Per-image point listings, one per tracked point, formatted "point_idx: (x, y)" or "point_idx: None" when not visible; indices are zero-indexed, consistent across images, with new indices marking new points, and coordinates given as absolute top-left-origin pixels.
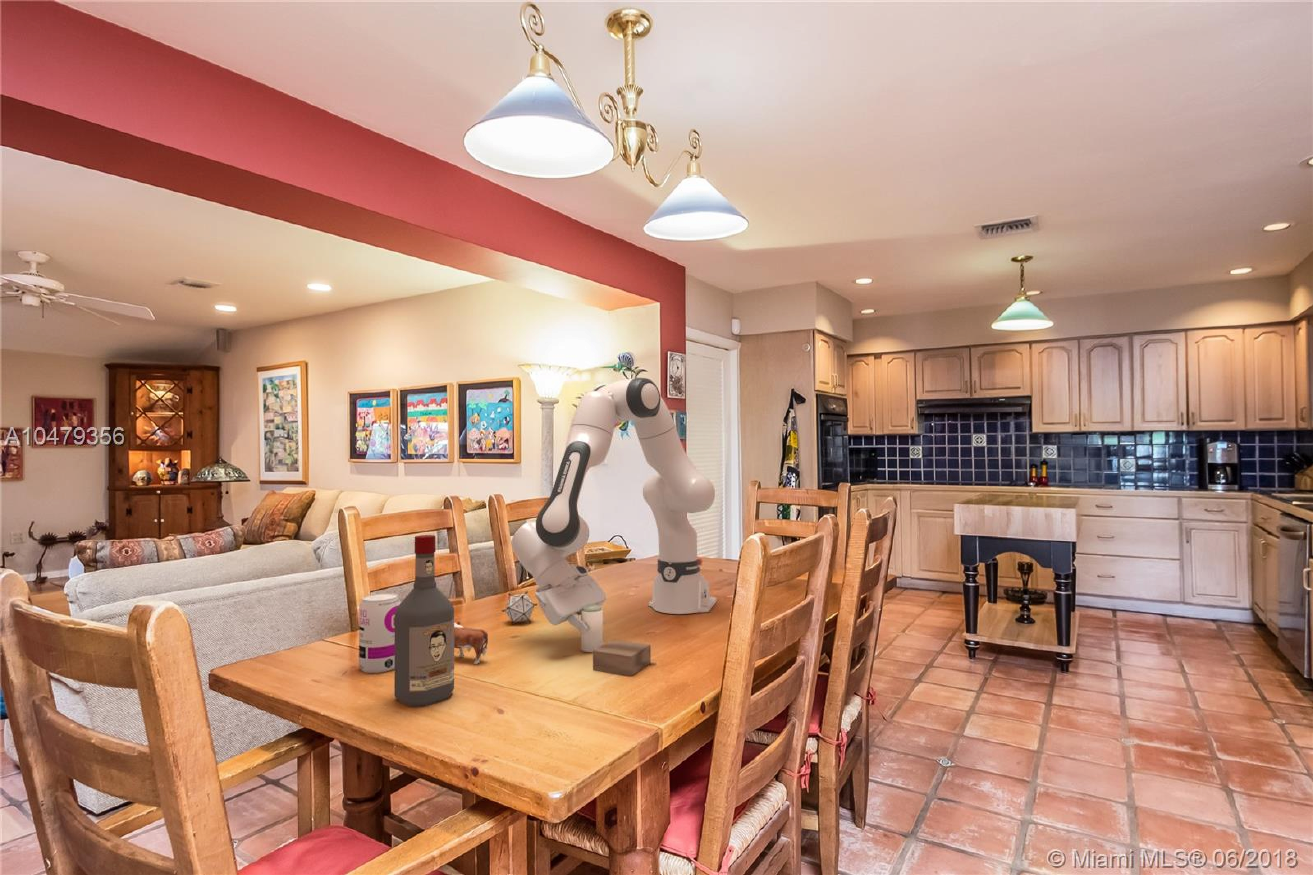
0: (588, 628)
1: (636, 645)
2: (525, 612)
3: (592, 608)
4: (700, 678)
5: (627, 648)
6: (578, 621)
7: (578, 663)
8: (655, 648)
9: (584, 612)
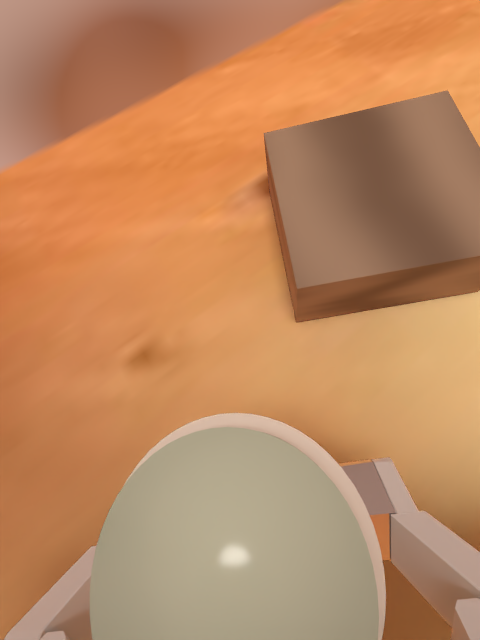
0: (360, 461)
1: (310, 159)
2: None
3: (322, 474)
4: (291, 48)
5: (372, 158)
6: (468, 554)
7: (469, 401)
8: (118, 272)
9: (382, 576)
